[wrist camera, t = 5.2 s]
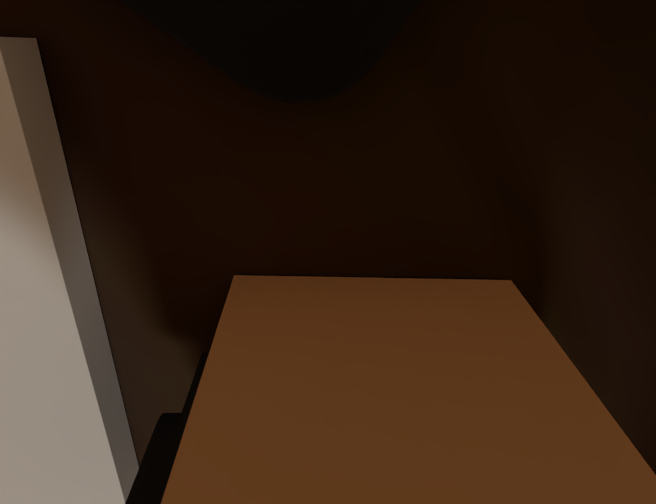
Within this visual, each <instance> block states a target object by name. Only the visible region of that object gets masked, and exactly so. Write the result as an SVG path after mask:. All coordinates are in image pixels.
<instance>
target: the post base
mask: <svg viewBox="0 0 656 504" xmlns="http://www.w3.org/2000/svg"><path fill="white" fill-rule="evenodd" d="M138 470H139V466H138V462H137V458H136V454H135V449H134V445H133V441H132V437H131V433H130V428H129V424H128V420H127V416H126V412H125V408H124V403H123V399H122V395H121V391H120V387H119V383H118V378H117V374H116V370H115V366H114V362H113V358H112V353H111V349H110V345H109V341H108V337H107V332H106V328H105V324H104V320H103V316H102V312H101V307H100V303H99V299H98V295H97V291H96V287H95V282H94V278H93V274H92V270H91V266H90V261H89V257H88V253H87V249H86V245H85V241H84V236H83V232H82V228H81V224H80V220H79V216H78V211H77V207H76V203H75V199H74V195H73V190H72V186H71V182H70V178H69V174H68V170H67V165H66V161H65V157H64V153H63V149H62V145H61V140H60V136H59V132H58V128H57V124H56V119H55V115H54V111H53V107H52V103H51V99H50V94H49V90H48V86H47V82H46V78H45V74H44V69H43V65H42V61H41V57H40V53H39V48H38V44H37V40H36V38H19V37H0V504H125V503H126V500H127V498H128V495H129V493H130V490H131V487H132V485H133V482H134V480H135V477H136V475H137V472H138Z"/></svg>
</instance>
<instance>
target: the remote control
mask: <svg viewBox="0 0 656 504" xmlns="http://www.w3.org/2000/svg"><path fill="white" fill-rule="evenodd" d="M119 1H121V2H122V3H124V4H125V5H127V6H128V7H130V8H131V9H133V10H134V11H135V12H137V13H138V14H140V15H141V16H143V17H144V18H146V19H147V20H148V21H150V22H151V23H153V24H154V25H156V26H157V27H159V28H160V29H162V30H163V31H164V32H166V33H167V34H169V35H170V36H172V37H173V38H175V39H176V40H177V41H179V42H180V43H182V44H183V45H185V46H186V47H188V48H189V49H191V50H192V51H193V52H195V53H196V54H198V55H199V56H201V57H202V58H204V59H205V60H206V61H208V62H209V63H211V64H212V65H214V66H215V67H217V68H218V69H220V70H221V71H222V72H224V73H225V74H227V75H228V76H230V77H231V78H233V79H234V80H235V81H237V82H238V83H240V84H241V85H243V86H245V87H247V88H249V89H251V90H253V91H255V92H256V93H258V94H260V95H262V96H264V97H267V98H271V99H276V100H280V101H285V102H289V103H297V102H316V101H319V100H322V99H325V98H328V97H331V96H334V95H337V94H340V93H341V92H343V91H344V90H346V89H347V88H349V87H350V86H352V85H353V84H355V83H356V82H358V81H359V80H361V79H362V78H363V77H364V76H365V75H366V74H367V72H368V71H369V70H370V69H371V68H372V67H373V66H374V64H375V63H376V62H377V61H378V60H379V59H380V58H381V56H382V55H383V53H384V52H385V50H386V49H387V47H388V46H389V45H390V43H391V42H392V40H393V39H394V37H395V36H396V34H397V33H398V32H399V30H400V29H401V27H402V26H403V24H404V23H405V21H406V20H407V18H408V17H409V16H410V14H411V13H412V11H413V10H414V8H415V7H416V5H417V4H418V2H419V1H420V0H119Z"/></svg>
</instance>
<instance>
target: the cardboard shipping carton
mask: <svg viewBox="0 0 656 504" xmlns="http://www.w3.org/2000/svg"><path fill="white" fill-rule="evenodd" d="M161 504H656V475H655V474H654V472H653V471H652V469H651V468H650V467H649V465H648V464H647V463H646V461H645V460H644V459H643V457H642V456H641V455H640V453H639V452H638V451H637V449H636V448H635V447H634V445H633V444H632V442H631V441H630V440H629V438H628V437H627V436H626V434H625V433H624V432H623V430H622V429H621V428H620V426H619V425H618V424H617V422H616V421H615V420H614V418H613V417H612V416H611V414H610V413H609V411H608V410H607V409H606V407H605V406H604V405H603V403H602V402H601V401H600V399H599V398H598V397H597V395H596V394H595V393H594V391H593V390H592V389H591V387H590V386H589V385H588V383H587V382H586V380H585V379H584V378H583V376H582V375H581V374H580V372H579V371H578V370H577V368H576V367H575V366H574V364H573V363H572V362H571V360H570V359H569V358H568V356H567V355H566V354H565V352H564V351H563V349H562V348H561V347H560V345H559V344H558V343H557V341H556V340H555V339H554V337H553V336H552V335H551V333H550V332H549V331H548V329H547V328H546V327H545V325H544V324H543V322H542V321H541V320H540V318H539V317H538V316H537V314H536V313H535V312H534V310H533V309H532V308H531V306H530V305H529V304H528V302H527V301H526V300H525V298H524V297H523V296H522V294H521V293H520V291H519V290H518V289H517V287H516V286H515V285H514V283H513V282H512V281H511V280H476V279H420V278H364V277H307V276H251V275H234V277H233V280H232V283H231V286H230V289H229V293H228V296H227V299H226V302H225V305H224V308H223V311H222V314H221V318H220V321H219V324H218V327H217V330H216V333H215V336H214V339H213V343H212V346H211V349H210V352H209V355H208V358H207V361H206V364H205V367H204V371H203V374H202V377H201V380H200V383H199V386H198V389H197V392H196V396H195V399H194V402H193V405H192V408H191V411H190V414H189V417H188V421H187V424H186V427H185V430H184V433H183V436H182V439H181V442H180V446H179V449H178V452H177V455H176V458H175V461H174V464H173V467H172V470H171V474H170V477H169V480H168V483H167V486H166V489H165V492H164V495H163V499H162V502H161Z"/></svg>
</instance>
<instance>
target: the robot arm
mask: <svg viewBox="0 0 656 504" xmlns="http://www.w3.org/2000/svg"><path fill="white" fill-rule="evenodd" d="M208 355H209V353H203V354H202V356H201V358H200V361H199V364H198V367H197V370H196V373H195V376H194V379H193V382H192V384H191V387H190V390H189V393H188V396H187V399H186V402H185V405H184V408H183V411H182V413H163V414H162V415H161V416H160V418H159V420H158V422H157V424H156V427H155V429H154V432H153V434H152V437H151V439H150V442H149V444H148V447H147V449H146V452H145V454H144V457H143V460H142V462H141V465H140V467H139V470H138V472H137V475H136V477H135V480H134V482H133V485H132V487H131V490H130V493H129V495H128V498H127V500H126V503H125V504H161V502H162V499H163V495H164V492H165V489H166V486H167V483H168V480H169V477H170V474H171V470H172V467H173V464H174V461H175V458H176V455H177V452H178V449H179V446H180V442H181V439H182V436H183V433H184V430H185V427H186V424H187V421H188V417H189V414H190V411H191V408H192V405H193V402H194V399H195V396H196V392H197V389H198V386H199V383H200V380H201V377H202V374H203V371H204V367H205V364H206V361H207V358H208Z"/></svg>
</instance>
